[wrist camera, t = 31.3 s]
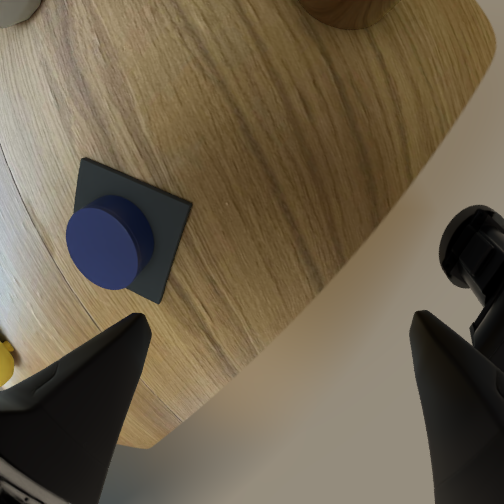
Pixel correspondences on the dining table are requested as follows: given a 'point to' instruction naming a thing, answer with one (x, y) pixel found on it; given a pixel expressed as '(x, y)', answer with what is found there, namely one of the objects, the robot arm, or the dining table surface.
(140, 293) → the mat
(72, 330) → the dining table surface
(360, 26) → the jam jar
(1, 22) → the salt shaker
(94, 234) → the jar lid
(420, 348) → the robot arm
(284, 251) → the dining table surface
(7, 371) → the teapot
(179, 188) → the dining table surface
